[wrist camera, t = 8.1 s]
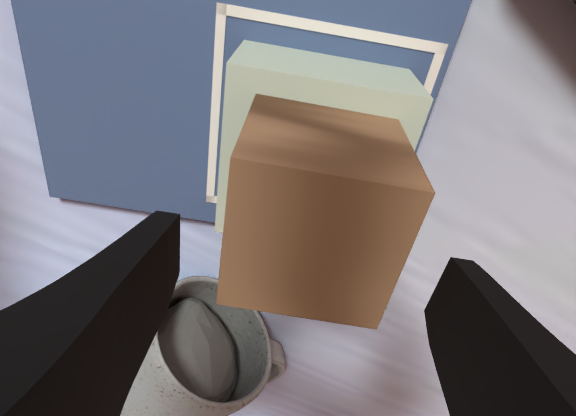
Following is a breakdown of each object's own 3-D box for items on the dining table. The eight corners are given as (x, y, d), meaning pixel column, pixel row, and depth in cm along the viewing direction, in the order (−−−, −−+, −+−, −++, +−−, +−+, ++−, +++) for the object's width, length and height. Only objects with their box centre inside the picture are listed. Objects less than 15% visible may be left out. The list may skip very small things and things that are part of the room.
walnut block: (240, 213, 16) (216, 304, 12) (256, 93, 14) (230, 157, 9) (360, 233, 17) (376, 329, 12) (398, 119, 14) (435, 193, 10)
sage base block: (230, 185, 20) (214, 231, 17) (244, 39, 17) (226, 62, 13) (366, 207, 21) (376, 257, 17) (409, 69, 17) (433, 99, 13)
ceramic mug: (118, 322, 27) (61, 437, 21) (178, 252, 24) (131, 366, 17) (244, 384, 31) (228, 500, 24) (314, 331, 27) (316, 451, 21)
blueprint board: (55, 190, 22) (49, 197, 21) (-22, -224, 13) (-37, -232, 13) (379, 242, 23) (381, 249, 22) (508, -119, 14) (516, -122, 13)
